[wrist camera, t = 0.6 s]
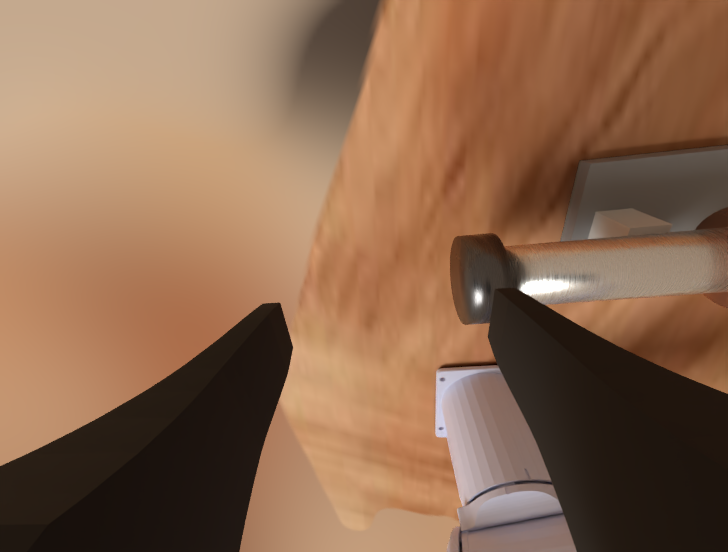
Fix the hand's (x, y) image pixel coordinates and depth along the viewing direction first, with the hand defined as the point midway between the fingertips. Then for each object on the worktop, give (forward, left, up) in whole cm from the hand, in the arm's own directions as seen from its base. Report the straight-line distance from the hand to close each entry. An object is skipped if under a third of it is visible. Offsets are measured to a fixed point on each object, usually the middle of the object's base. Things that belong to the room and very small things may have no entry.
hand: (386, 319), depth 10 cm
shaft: (-2, -12, -7) cm, 14 cm away
